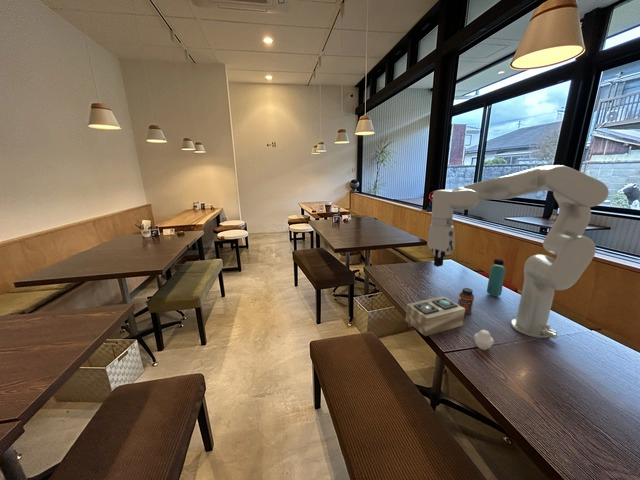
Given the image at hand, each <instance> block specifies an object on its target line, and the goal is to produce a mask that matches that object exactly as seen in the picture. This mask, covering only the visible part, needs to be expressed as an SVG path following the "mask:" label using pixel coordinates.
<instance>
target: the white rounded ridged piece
mask: <svg viewBox="0 0 640 480" xmlns="http://www.w3.org/2000/svg"><path fill="white" fill-rule="evenodd" d="M473 338H474V342H475V344H476V346H477V348H478V349H480V350H483V351H487V350H488V349H489V348H490V347H492V346H493V344H494V343H495V342H494V341H495V340H494V338H493V337H492V336H491V333H490V332H489V331H488V330H487V329H480V330H479V331H478V332H476V333H475V334H474V336H473Z"/></svg>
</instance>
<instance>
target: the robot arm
mask: <svg viewBox="0 0 640 480" xmlns="http://www.w3.org/2000/svg"><path fill="white" fill-rule="evenodd" d="M542 191H547V192H549V191H550V192H552V195H553V197H554V199H555V201H556V202H557V204H558V211H559V212H558V216H557V218H556V220H555V222H553V225H552V227H551V228H550V229H549V231H548V232H547V234H546V236H545V238H544V240H543V243H542V247H543V249H544V250H545V251H547V252H548V253H550V254H552V255H554V256H556V258H553V257H551V256H549V255H546V254H540V253H539V254H534V255H531V256H530V257H528V258H527V259H526V261H525V263H524V265H523V266H524V267H523V273H524V274H523V284H522V290H521V296H520V301H519V304H518V311H517V316H516V318H513V319H512V320H511V321H510V325H511V327H512V329H514V330H515V331H517V332H519V333H520V334H523V335H526V336H527V337H528V336H529V337H531V338H536V339H546V338H549V337H550V338H552V339H554V340H555V339H557V337H558V331H556V330H555V329H552V328H551V324H550V323H548V321H549V317H550V312H551V309H552V305H553V300H554V297H555V290H556V291H564V290H568V289H569V288H571V287H573V285H574V286H575V284H576V283H577V282H578V281H579V279H580V278H581V276H582V275H583V273H584V272H585V271H586V269H587V268H588V267H589V266H590V263H591V262H592V260H593V259H594V257H595V254H596V251H597V248H596V244H595V242H594V241H593V240H592V238H590V237H588V236H585V235H584V232H585V231H586V229H587V227H588V226H589V224H590V221H591V217H592V210H591V208H593V207H597V206H599V205H602V203H604V202H605V201H606V200H607V198H609V197H608V196H609V193H610V191H609V188H608V186H607V185H606V184H605V183H604V182H603V181H601V180H599V179H597V178H595V177H592V176H590V175H587V174H585V173H583V172H581V171H579V170H577V169H575V168H572V167H569V166H566V165H563V164H561V165H560V164H554V165H550V164H549V165H541V166H536V167H533V168H530V169H525V170H523V171H519V172H515V173H511V174H508V175H504V176H499V177H495V178H491V179H487V180H482V181H478V182H474V183H470V184H466V185H463V186H460V187H456V188H454V189H453V190H452V189H437V190H434V191H433V194H432V202H431V204H432V205H431V218H430V220H431V221H430V224H429V227H428V233H427V246H428V247H427V248H428V249H429V250H431V252H432V255H433V257H434V259H433V266H434V267H436V268H438V267H442V266H444V258H445V257H446V256H450V255H452V251H454V250H455V247H456V245H455V244H456V235H455V234H456V233H455V227H454V225H453V224H455V221H454V220H453V217H454V209H455V210H456V209H457V210H472V209H474V208H475V207H477V206H478V205H479V203H480V201H481V202H482V201H486V200H500V201H501V200H509V199H514V198H518V197H522V196H525V195H529V194H534V193H537V192H538V193H539V192H542Z"/></svg>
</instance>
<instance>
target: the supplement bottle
mask: <svg viewBox="0 0 640 480" xmlns="http://www.w3.org/2000/svg"><path fill="white" fill-rule="evenodd" d="M474 300H475V294H473V289H472V288H469V287H463V288H462V290H461V292H459V296H458V301H457V304H458V305H460V306H461V307H463V308H465V314H464V315H471V314H472V312H473V308H474V307H473V306H474Z"/></svg>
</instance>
